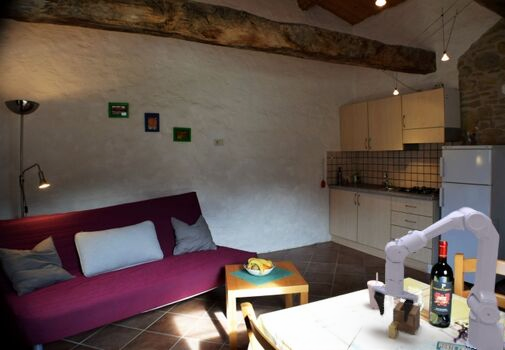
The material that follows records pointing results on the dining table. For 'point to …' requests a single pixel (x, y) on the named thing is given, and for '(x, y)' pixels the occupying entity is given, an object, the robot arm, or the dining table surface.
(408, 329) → the box
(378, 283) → the smoothie
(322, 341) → the dining table surface
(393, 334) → the brass token
